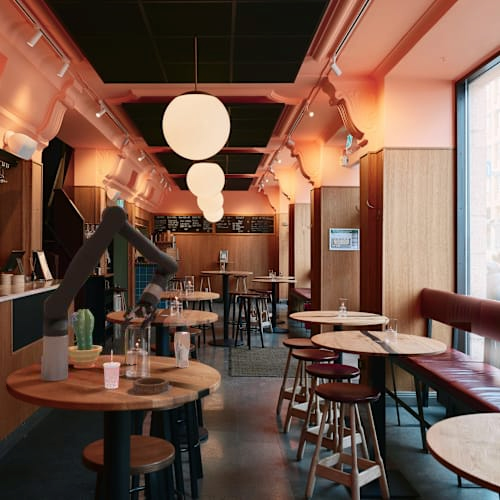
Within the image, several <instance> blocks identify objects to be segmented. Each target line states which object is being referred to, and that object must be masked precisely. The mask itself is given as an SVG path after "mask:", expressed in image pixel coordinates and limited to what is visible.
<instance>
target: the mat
mask: <svg viewBox="0 0 500 500" xmlns="http://www.w3.org/2000/svg"><path fill="white" fill-rule="evenodd" d="M172 387H173V384H172V385H170V384H169V387H168V390H167V391H165V392H162V393H157V394H156V395H170V392H171V389H172ZM128 395H141V394H140V393H136V392H134V389H133V387H132V388H131V390H130V391H129V393H128Z"/></svg>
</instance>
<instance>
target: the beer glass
mask: <svg viewBox="0 0 500 500" xmlns="http://www.w3.org/2000/svg"><path fill="white" fill-rule="evenodd" d="M190 333H191V332H189V331H176V332H174V338H173V339H174V342H173V344H174V345H173V346H174V352H175V364H174V367H175V368H176V367H179V368H178V369H184V368H183V367H187V368H189V367H190V366H189V365H190V364H189V354H190V347H191V334H190Z"/></svg>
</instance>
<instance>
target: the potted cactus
mask: <svg viewBox="0 0 500 500" xmlns="http://www.w3.org/2000/svg"><path fill="white" fill-rule="evenodd" d="M94 324H95V317H94V315H93V314H92V312H91V311H90V310H89V308H87V309H85V308H83V309H78V310H77V312H76V311H75V312H73V313H72V314H70V316H69V317H68V327H69V326H71V327H72V330H73V332H74V334H75V339H76V344H77V345H74V346H68V357H69V359H70V361H71V362H72V364H73V368H74V369H89V368H93V367H95V366H96V365H95V364H96V362H97V360H98V359H99V357H100V353H101V352H102V351H103V346H101V345H94V344H93V332H94V331H93V330H94V327H95V326H94Z"/></svg>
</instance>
